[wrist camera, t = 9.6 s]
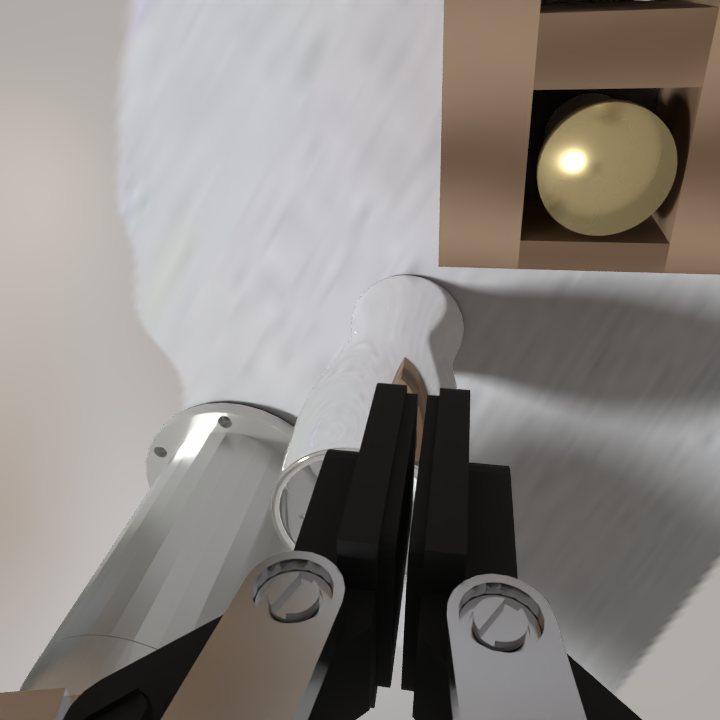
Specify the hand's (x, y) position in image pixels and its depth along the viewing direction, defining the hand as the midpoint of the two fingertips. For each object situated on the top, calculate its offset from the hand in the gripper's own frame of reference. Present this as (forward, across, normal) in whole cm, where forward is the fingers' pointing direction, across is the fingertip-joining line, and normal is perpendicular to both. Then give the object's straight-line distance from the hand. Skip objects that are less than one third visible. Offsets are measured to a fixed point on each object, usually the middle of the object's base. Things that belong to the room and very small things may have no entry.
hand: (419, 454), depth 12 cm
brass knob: (+22, -6, -2) cm, 22 cm away
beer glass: (+23, +2, +8) cm, 24 cm away
